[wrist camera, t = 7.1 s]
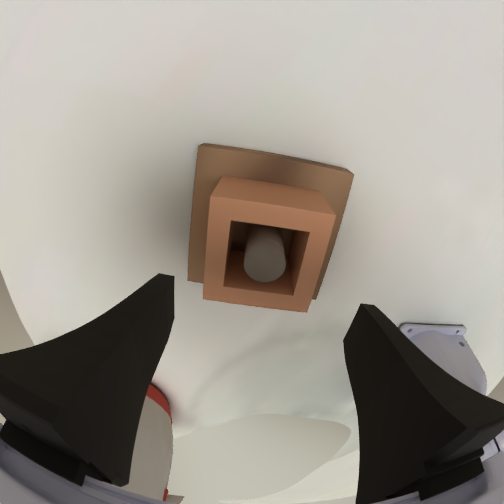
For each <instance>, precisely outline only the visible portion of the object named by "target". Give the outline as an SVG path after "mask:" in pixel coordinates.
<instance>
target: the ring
mask: <svg viewBox="0 0 504 504" xmlns="http://www.w3.org/2000/svg"><path fill="white" fill-rule="evenodd" d="M335 217H336V215H335V213H334V212H333V210H332V209H331V207H330V206H329V204H328V203H327V201H326V200H325V198H324V197H323V195H322V194H321V192H320V191H316V190H311V189H306V188H300V187H294V186H288V185H282V184H276V183H270V182H263V181H257V180H250V179H243V178H235V177H227V176H222V178H221V179H220V181H219V183H218V184H217V186H216V188H215V189H214V191H213V193H212V194H211V196H210V206H209V217H208V229H207V242H206V256H205V271H204V288H203V299H206V300H213V301H220V302H226V303H233V304H241V305H248V306H256V307H264V308H272V309H280V310H289V311H298V312H307V311H308V308H309V305H310V302H311V299H312V296H313V293H314V290H315V287H316V283H317V280H318V277H319V274H320V270H321V267H322V264H323V260H324V257H325V253H326V250H327V246H328V243H329V239H330V236H331V232H332V229H333V225H334V221H335ZM235 221H240V222H247V223H254V224H261V225H268V226H274V227H281V228H287V229H294V232H293V237H292V241H291V245H290V250H289V254H288V258H285V261H286V267H285V270H284V272H283V274H282V275H281V276H280V277H279V278H277V279H276V280H273V281H270V282H259V281H256V280H254V279H252V278H251V277H250V276H249V275H248V274H247V273H246V271H245V269H244V258H245V252H243V251H236V250H231V246H232V238H233V230H234V222H235Z"/></svg>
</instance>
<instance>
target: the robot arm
mask: <svg viewBox="0 0 504 504" xmlns="http://www.w3.org/2000/svg"><path fill="white" fill-rule="evenodd" d="M173 321H174V276H171V275H165V274H160V273H159V274H157V275H156V276H155V277H153V278H152V279H151V280H149V281H148V282H147V283H145V284H144V285H143V286H142V287H140V288H139V289H138V290H136V291H135V292H134V293H132V294H131V295H130V296H128V297H127V298H126V299H124V300H123V301H122V302H120V303H119V304H117V305H116V306H114V307H113V308H111V309H110V310H108V311H107V312H105V313H104V314H102V315H101V316H99V317H97V318H96V319H94V320H92V321H90V322H89V323H87V324H85V325H83V326H81V327H79V328H77V329H75V330H73V331H71V332H69V333H66V334H64V335H62V336H60V337H57V338H55V339H53V340H50V341H47V342H44V343H42V344H39V345H36V346H33V347H30V348H26V349H22V350H18V351H13V352H9V353H5V354H0V413H1V414H2V415H3V416H4V417H5V419H6V421H5V423H4V425H2V424H1V423H0V503H1V504H175V503H170V502H166V501H161V500H157V499H153V498H150V497H146V496H143V495H139V494H136V493H132V492H129V491H126V490H123V489H120V488H117V487H115V486H118V487H123V486H125V485H127V484H129V479H130V471H131V463H132V456H133V451H134V445H135V440H136V435H137V430H138V425H139V421H140V417H141V413H142V409H143V405H144V401H145V397H146V394H147V391H148V388H149V385H150V382H151V380H152V378H153V375H154V373H155V370H156V368H157V365H158V363H159V361H160V358H161V356H162V353H163V351H164V349H165V346H166V344H167V341H168V338H169V335H170V332H171V328H172V324H173ZM465 332H466V327H465V326H443V325H419V324H404V325H402V326H401V327H400V329H399V328H398V327H397V326H396V325H395V324H394V323H393V322H392V321H391V320H390V319H389V318H388V317H387V316H386V315H385V314H384V313H382V312H381V311H380V310H379V309H378V308H377V307H376V306H375V305H369V304H360V306H359V309H358V311H357V313H356V315H355V317H354V319H353V321H352V324H351V326H350V328H349V330H348V332H347V334H346V336H345V338H344V340H343V343H344V354H345V362H346V366H347V371H348V375H349V379H350V383H351V387H352V391H353V396H354V400H355V404H356V409H357V415H358V426H359V443H360V463H359V480H358V489H357V497H356V504H504V404H503V403H501V402H499V401H496V400H494V399H493V398H492V396H486V395H485V394H486V389H487V380H486V375H485V372H484V370H483V368H482V366H481V365H480V363H479V361H478V360H477V358H476V356H475V355H474V353H473V351H472V350H471V348H470V346H469V345H468V343H467V341H466V340H465V338H464V337H463V335H464V333H465ZM104 482H106V483H109V484H111V485H109V484H106V483H104ZM112 484H113V485H115V486H112Z"/></svg>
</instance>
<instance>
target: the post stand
mask: <svg viewBox="0 0 504 504" xmlns="http://www.w3.org/2000/svg"><path fill="white" fill-rule="evenodd" d="M222 176H227V177H235V178H243V179H250V180H257V181H263V182H270V183H276V184H282V185H288V186H294V187H300V188H306V189H311V190H316V191H320V192H321V194H322V195H323V197H324V198H325V200H326V201H327V203H328V204H329V206H330V207H331V209H332V210H333V212H334V213H335V215H336V217H335V221H334V225H333V229H332V232H331V236H330V239H329V243H328V246H327V250H326V253H325V257H324V260H323V264H322V267H321V270H320V274H319V277H318V280H317V283H316V287H315V290H314V293H313V296H312V299H314V300H316V298H317V295H318V292H319V289H320V287H321V284H322V281H323V278H324V275H325V272H326V269H327V266H328V263H329V260H330V257H331V254H332V250H333V247H334V244H335V241H336V238H337V234H338V231H339V228H340V224H341V221H342V217H343V214H344V210H345V207H346V203H347V200H348V196H349V192H350V189H351V185H352V181H353V177H354V174H353V173H352V172H350V171H349V170H347V169H344V168H340V167H336V166H332V165H327V164H323V163H319V162H314V161H310V160H305V159H300V158H295V157H290V156H285V155H279V154H274V153H268V152H262V151H256V150H250V149H243V148H237V147H229V146H222V145H214V144H205V143H203V144H201V145H199V146H198V153H197V162H196V171H195V181H194V191H193V202H192V214H191V228H190V242H189V260H188V281H193V282H199V283H204V271H205V256H206V242H207V229H208V217H209V206H210V196H211V194H212V193H213V191H214V189H215V188H216V186H217V184H218V183H219V181H220V179H221V178H222ZM293 232H294V229H287V228H281V227H274V226H268V225H261V224H254V223H247V222H240V221H235V222H234V230H233V238H232V246H231V250H236V251H243V252H245V258H244V269H245V271H246V273H247V274H248V275H249V276H250V277H251V278H252V279H254V280H256V281H259V282H270V281H273V280H276V279H277V278H279V277H280V276H281V275H282V274H283V272H284V270H285V267H286V261H285V258H288V254H289V250H290V245H291V241H292V237H293Z"/></svg>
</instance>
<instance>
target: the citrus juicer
mask: <svg viewBox="0 0 504 504" xmlns="http://www.w3.org/2000/svg"><path fill="white" fill-rule="evenodd" d="M172 454H173V434H172V418H171V413H170V408H169V404H168V402H167V400H166V398H165V397H164V396H163V395H162V393H161V392H160V391H159V390H158V389H156V388H155V387H153V386H152V385H151V384H150V385H149V388H148V391H147V394H146V397H145V401H144V405H143V409H142V413H141V417H140V421H139V425H138V430H137V435H136V440H135V445H134V451H133V456H132V463H131V471H130V479H129V484H127V485H125V486H123V487H118V486H115V485H113V484H112V486H115V487H117V488H120V489H123V490H126V491H129V492H132V493H136V494H139V495H143V496H146V497H150V498H153V499H157V500H161V501H166V502H170V503H175V504H180V503H181V501H182V500H183V498H184V496H176V495H168V489H167V485H168V479H169V474H170V469H171V462H172ZM104 483H106V482H104ZM106 484H109V483H106ZM109 485H111V484H109Z"/></svg>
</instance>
